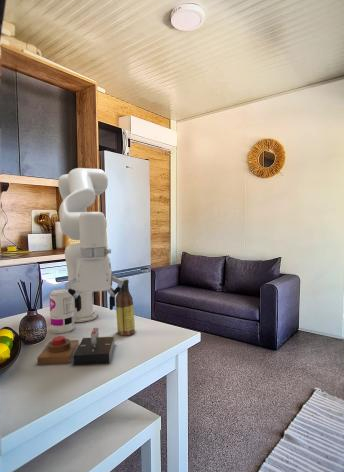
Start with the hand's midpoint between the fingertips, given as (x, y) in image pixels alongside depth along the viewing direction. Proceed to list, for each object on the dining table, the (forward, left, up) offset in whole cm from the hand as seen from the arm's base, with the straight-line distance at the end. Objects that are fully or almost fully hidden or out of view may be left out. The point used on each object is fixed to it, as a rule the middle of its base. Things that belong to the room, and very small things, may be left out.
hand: (95, 309), depth 93 cm
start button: (-1, -12, -10) cm, 16 cm away
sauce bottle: (-17, +7, -14) cm, 24 cm away
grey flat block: (0, -1, -11) cm, 11 cm away
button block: (-1, -12, -14) cm, 18 cm away
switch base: (0, -1, -14) cm, 14 cm away
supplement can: (-23, -17, -14) cm, 32 cm away
